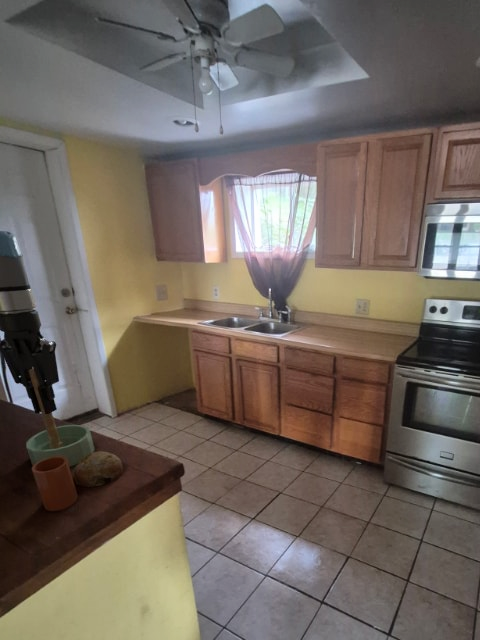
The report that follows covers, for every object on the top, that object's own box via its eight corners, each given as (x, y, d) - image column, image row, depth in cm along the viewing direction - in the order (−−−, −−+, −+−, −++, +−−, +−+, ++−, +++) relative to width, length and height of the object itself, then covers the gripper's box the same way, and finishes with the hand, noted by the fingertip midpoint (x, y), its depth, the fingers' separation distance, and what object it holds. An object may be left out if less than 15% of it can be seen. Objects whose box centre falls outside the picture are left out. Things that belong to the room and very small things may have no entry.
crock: (38, 512, 76) (23, 471, 72) (60, 493, 81) (48, 454, 77) (64, 515, 75) (51, 474, 71) (84, 496, 80) (74, 457, 77)
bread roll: (85, 505, 83) (83, 484, 78) (66, 472, 87) (63, 451, 82) (129, 485, 90) (130, 465, 85) (109, 456, 94) (109, 435, 89)
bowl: (19, 469, 90) (11, 448, 88) (61, 442, 102) (55, 423, 100) (69, 475, 88) (63, 453, 86) (105, 446, 100) (101, 426, 98)
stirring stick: (50, 455, 91) (24, 370, 83) (56, 451, 93) (31, 368, 85) (61, 456, 91) (35, 371, 82) (67, 452, 93) (43, 368, 84)
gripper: (60, 308, 81) (85, 407, 90) (0, 307, 83) (31, 403, 92) (32, 314, 74) (62, 420, 83) (-32, 312, 76) (4, 416, 85)
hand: (46, 411), depth 87 cm, fingers closed on stirring stick, 2 cm apart
